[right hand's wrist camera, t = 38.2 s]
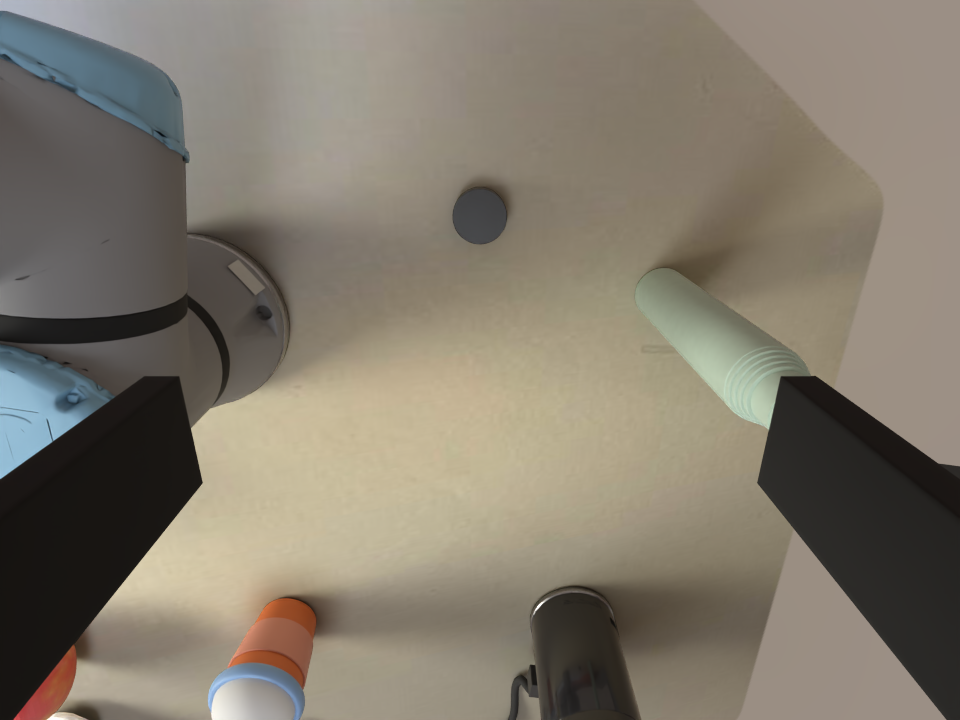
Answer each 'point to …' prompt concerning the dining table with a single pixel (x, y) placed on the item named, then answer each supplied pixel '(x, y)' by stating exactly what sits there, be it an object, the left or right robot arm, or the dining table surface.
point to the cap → (479, 215)
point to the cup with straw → (268, 667)
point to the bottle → (718, 343)
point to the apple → (51, 690)
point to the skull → (65, 716)
